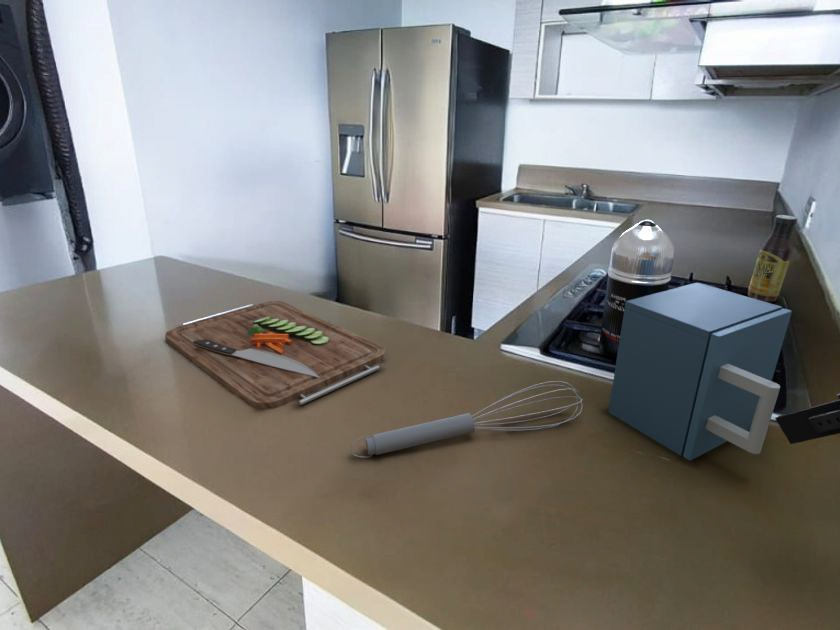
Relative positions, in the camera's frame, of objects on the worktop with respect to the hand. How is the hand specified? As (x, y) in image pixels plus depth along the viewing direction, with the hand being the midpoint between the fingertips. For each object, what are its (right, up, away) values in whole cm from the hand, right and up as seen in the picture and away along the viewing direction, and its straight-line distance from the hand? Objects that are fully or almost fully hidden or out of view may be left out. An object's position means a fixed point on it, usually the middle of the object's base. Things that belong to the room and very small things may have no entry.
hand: (818, 410), depth 53 cm
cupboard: (-4, -5, +22) cm, 23 cm away
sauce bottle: (+40, +14, +68) cm, 80 cm away
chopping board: (-71, +4, +45) cm, 84 cm away
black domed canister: (-3, +3, +41) cm, 42 cm away
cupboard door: (+1, -8, +14) cm, 16 cm away
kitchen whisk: (-34, -7, +17) cm, 39 cm away
